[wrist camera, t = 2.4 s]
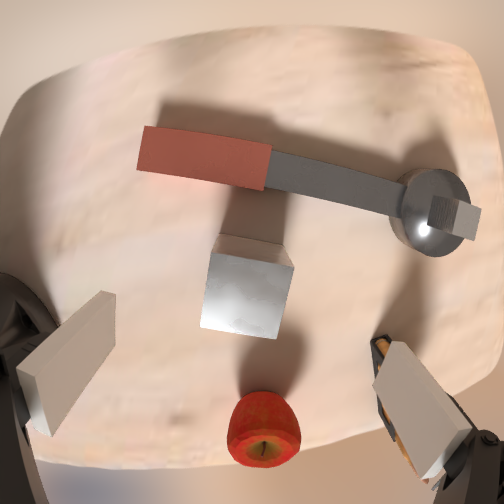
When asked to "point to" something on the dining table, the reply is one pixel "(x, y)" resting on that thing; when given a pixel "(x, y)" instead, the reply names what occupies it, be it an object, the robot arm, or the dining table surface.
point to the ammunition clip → (378, 356)
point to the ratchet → (322, 184)
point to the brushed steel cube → (246, 286)
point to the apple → (263, 431)
